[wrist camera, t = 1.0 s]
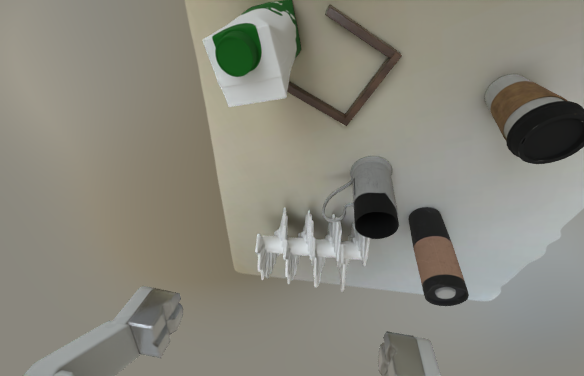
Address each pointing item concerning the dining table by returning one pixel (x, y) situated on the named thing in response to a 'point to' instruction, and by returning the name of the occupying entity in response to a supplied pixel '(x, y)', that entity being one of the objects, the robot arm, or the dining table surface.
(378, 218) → the glass holder
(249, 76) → the soya milk
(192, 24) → the dining table surface
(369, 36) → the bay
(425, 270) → the travel mug
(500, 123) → the coffee cup
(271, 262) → the spiral staircase
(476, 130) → the dining table surface
